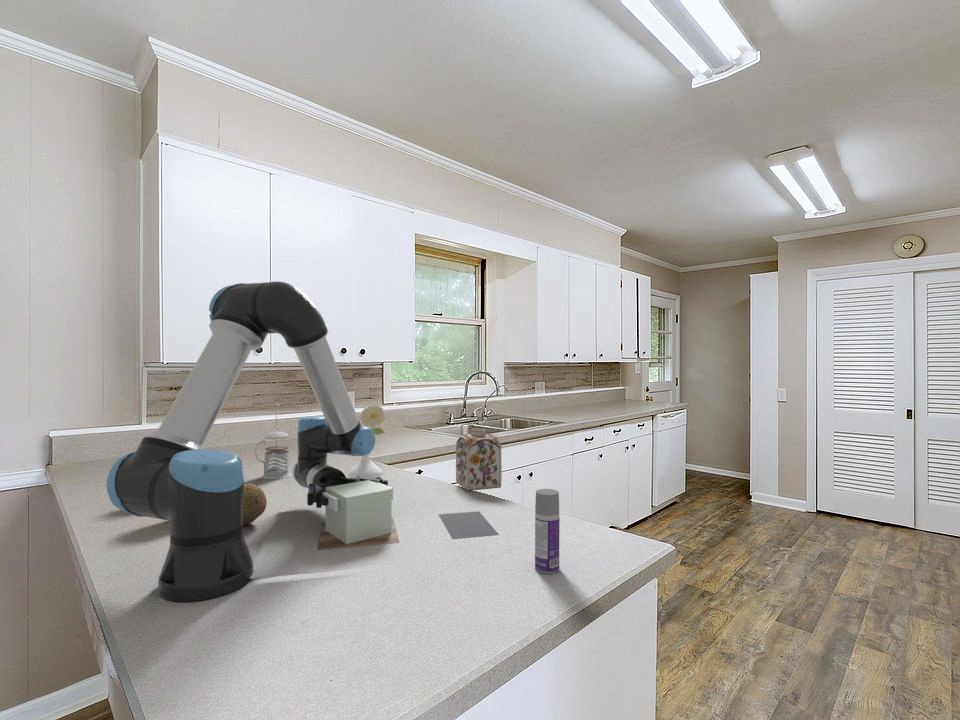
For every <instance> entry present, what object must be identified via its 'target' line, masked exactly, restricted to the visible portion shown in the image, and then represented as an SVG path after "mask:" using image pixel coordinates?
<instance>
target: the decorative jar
mask: <svg viewBox="0 0 960 720" xmlns="http://www.w3.org/2000/svg"><path fill="white" fill-rule="evenodd" d="M455 445H456V447H455V480H456V483H457V484H458V485H459V486H461V487H462V488H464V489H465V490H466V489H468V490H471V491H472V492H473V491H479V490H491V489H501V488H502V477H503V476H502V468H503V467H502V445H501V442H500V441H499V439H498V437H497V436H496V435H494V434H491V433H486V429H485V428H478V427H477V428H471V429H470V433H464V434H461V435H459V438H458V439H457V441H456V444H455ZM471 491H470V492H471Z"/></svg>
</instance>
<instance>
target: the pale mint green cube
mask: <svg viewBox="0 0 960 720" xmlns="http://www.w3.org/2000/svg"><path fill="white" fill-rule="evenodd" d="M326 493H328V494H330V495H332V496H334V497H336V498H338V511H333V510H331V509H329V508H328V507H326V506H325V522H326V531H327V532H328V533H330V534H332V535H333V536H335V537H336V538H338V539H339V540H341V541H342V542H344V543H345V544H349V543H353V542H357V541H361V540H365V539H369V538H373V537H377V536H381V535H385V534H389V533H391V517H392V500H391V497H392V489H390V488H387V487H385V486H382V485H380V484H377V483H375V482H372V481H370V480H366V481H361V482H355V483H349V484H343V485H337V486H331V487H326Z"/></svg>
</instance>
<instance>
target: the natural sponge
mask: <svg viewBox="0 0 960 720" xmlns="http://www.w3.org/2000/svg"><path fill="white" fill-rule="evenodd" d="M267 503H268V502H267V498H266V494H265V492H264V490H263V489H261V487H260V486H258V485H257V484H253V483H245V484H244V489H243V526H247V525H251V524H252V523H253V522H254V521H255V520H256V519H258V518H259V517H260V516H261V515H263V514H264V512H265V511H266V508H267Z"/></svg>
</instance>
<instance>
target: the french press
mask: <svg viewBox="0 0 960 720" xmlns="http://www.w3.org/2000/svg"><path fill="white" fill-rule="evenodd" d="M279 407H280V404H279V403H274V404H273V408H275V421H276V422H275V431H272V432H268V433H267V434H266V435H264V436H263V438H264V439H265V440H275V444H276V445H272V446H268V447H265V451H266V452H264V460H261V459H260V458H259V457H258V455H257V448H258V447H259V445H260V444H262V443H263V445H264V446H265V445H266V441H265V440H261V441H260V442H258V444H257V445H256V447H255V449H254V453H255V454H254V455H255V458H256V460H257V461H258V462H259V463H262V464H263V474H262V476H261V477H262V478H264V479H263V480H270V479H271V480H280V479H279V478H283V479H286V478H285V477H287V478H289V476H290V477H291V476H292V473H290V471H289V470H290V469H289V467H290V466H289V465H290V463H289V462H290V461H289V460H290V459H289V458H290V457H289V450H287V449H289V447H288V446H286V445H278V440H281V439H282V440H283V439H286V438H289V437H290V435H289V434H288V433H286V432H284V431H278V419H277V418H278V409H277V408H279ZM262 478H261V479H262Z"/></svg>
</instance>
